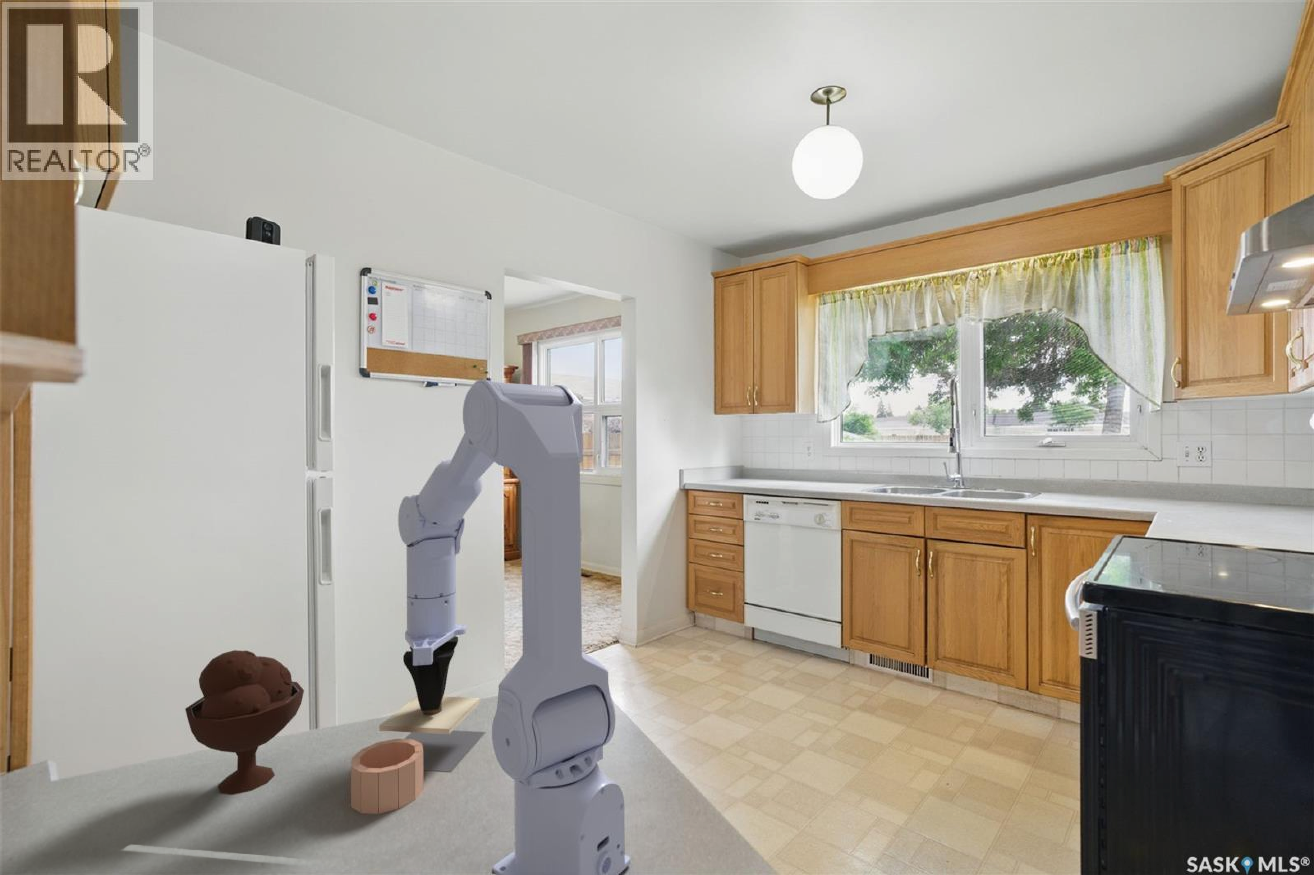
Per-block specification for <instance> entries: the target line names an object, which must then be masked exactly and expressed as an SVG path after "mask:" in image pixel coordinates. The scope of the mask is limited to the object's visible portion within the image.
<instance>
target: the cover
mask: <svg viewBox="0 0 1314 875" xmlns="http://www.w3.org/2000/svg"><path fill="white" fill-rule="evenodd" d="M456 703H458V704H456ZM480 704H481V698H480V697H464V696H463V697H460V696H443V698H442V701H441V704H440V708H439V709H438V710H428V711H421V708H420V705H419V701H418V697H417V695H416V696H415V697H413V698H412V699H411V700H410V701H408V703H407V702H406V704H405V705H403V706H402V707H401V708H400V709H398V710H397V711H396V712H394V713H393V714H392V715H391V716H389V717H388V718H387V719H386V720H384V721H383V722H382V723H381V724H379V727H378V728H379V730H378V731H379V732H380V731H381V732H396V733H397V732H399V733H400V732H401V733H411V732H415V733H436V734H450V733H451V732H452V731H455V729H456V728H457V727H458V726H460V724H461V723H462V722H463V721H464V719H466V718H467V717H468V716H469V715H470V714H471V713H472V712H473V711H474V710H475V709H476V708H477V706H479V705H480Z"/></svg>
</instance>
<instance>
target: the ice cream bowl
mask: <svg viewBox="0 0 1314 875" xmlns="http://www.w3.org/2000/svg"><path fill="white" fill-rule="evenodd" d="M198 684H199V689H200V692H201V693H202V695H203V696H202V697H201V698H199V699H198V700H196V701H195V702H193V703H192V704H190V705H189V706H187V707H185V714H186V718H187V722H188V724H189V729H190V731H191V733H192V735H193V737H194V738H195V740H196V741H197V742H198V743H199V744H201V745H203V746H205V747H207V748H209V749H210V750H216V751H217V752H225V753H226V752H227V753H235V754H236V756H237V763H236V764H237V767H236V770H235V771H233V772H232V773H230V774H229V775H228V776H226V777H225V778H224V779H223V780H222V781H221V782H219V783H218V785H217V789H218V792H219V793H220V794H224V795H225V794H226V795H237V794H242V793H247V792H251V791H254V790H256V789H258V788H260V787H262V786H265V785H267V784H268V783H269V782H270V781H271V780H272V779H273V778H274V777H275V776H276V775H275V772H274V770H273V768H272V767H268V766H263V765H257V755H256V753H257V750H258V748H259V747H260V746H262V745H265V744H267V743H268V742H270V741H271V740H272V739H274V738H275V736H277V735H278V734H279V733H280V732H281V731H282V730H284V728H286V726H288V724H289V723H290V722H291V721H292V719H294V718H295V716H296V715H297V714H298V711H299V709H300V707H301V705H302V701H303V698H304V697H303V696H304V692H305V690H304V689H303V687H302V686H301V685H300V683H299V682H298V681H293V680H292V673H291V672H290V670H289V669H288V667H286V666H285V665H284V664H283V663H281V662H280V661H278V660H277V659H276V658H273V657H268V656H261V655H259V656H258V655H256V654H255V653H254V652H252V651H249V650H236V649H235V650H231V651H226V652H223V653H221V654H219V655H217V656H216V657H214V658H212V659H211V660H210V661H209V662H208V664H207V665H206V666H204V668H203V669H202V671H201V672H200V675H199V678H198Z"/></svg>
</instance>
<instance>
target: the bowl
mask: <svg viewBox="0 0 1314 875" xmlns="http://www.w3.org/2000/svg"><path fill="white" fill-rule="evenodd" d="M350 761H351V762H350V807H351V808H352V809H353V810H354V811H356V812H358V813H360V814H371V815H372V814H373V815H378V814H384V813H388V812H392V811H396V810H399V809H401V808H403V807H405V806H407V805H409V804H411V803H412V802H414V801H416V800H417V799H418V797H419V796H420V795H421V794H422V793H423V791H424V771H423V746H422V743H419V742H417V741H415V740H413V739H405V738H393V739H387V740H383V741H377V742H376V743H373V744H371V745H369V746H366V747H364V748H362V749H360V750H358V751H357V753H355V754H354V755H353V756H352V757H351V760H350Z"/></svg>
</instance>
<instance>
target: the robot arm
mask: <svg viewBox="0 0 1314 875" xmlns="http://www.w3.org/2000/svg"><path fill="white" fill-rule="evenodd" d="M463 401H464V402H463V406H462V424H463V428H464V434H463V436H462V438H461V440H460V441H459V444H458V446H457V448H456V450H455V452H454V455H453V456H452V459H448V460H442V461H441V462H440V463H439V464H438V465H436V467H435V468H434V470H433V471H432V473H431V474H430V476H429V477H428V480H427V481H426V482H425V484H424V486H423V487H422V489H421V490H420V491H419V493H418V494H412V495H406V496H404V497H403V498H402V500H401V503H400V505H399V508H398V514H397V517H398V518H397V522H398V531H399V535H400V538H401V540H402V542H403V543H404V544H405V546H406V630H405V633H404V638H405V641H406V642H407V643H408V645H409V649H410V650H406V651H405V652H404V654H403V657H402V658H403V663H404V666H405V667H406V669H407V670H408V673H410V676H411V678H412V680H413V684H414V688H415V692H416V696H417V697H418V701H419V705H420V708H421V711H428V710H438V709H439V708H440V704H441V701H442V698H443V697H444V694H445V691H446V686H447V680H448V675H449V668H450V663H451V661H452V658H453V657H454V654H455V649H456V647H457V645H458V642H459V637H458V636H459V635H460V636H462V635H465V634H466V633H467V632H466V631H467V625H466V624H457V556H456V555H458V554H459V553H460V550H461V540H462V536H463V534H464V529H465V517H464V516H465V514H467V511H468V510H469V509H470V508H471V506H472V505H473V504H474V503H475V501H476V500H477V498H479V496H480V494H481V492H482V490H483V489H482V488H483V482H482V478H481V477H482V476H483V474H485V473H486V471H487V470H488V469H489V468H490V467H491V466H492V465H493V464H494V463H495V464H497V465H498V466H501V467H504V468H506V469H510V471H512V473H513V474H514V475H515V477H516V478H517V479H518V480H519V482H520V487H521V488H520V490H521V491H520V493H521V494H520V498H521V499H520V500H521V504H520V505H521V506H520V508H521V512H520V513H521V600H522V604H521V605H522V606H521V608H522V609H521V611H522V614H521V616H522V618H521V619H522V624H521V625H522V655H521V657H520V658H519V659H518V661H517V662H516V663H515V664H514V666H512V667H511V669H510V670H509V671H508V672H507V673H506V675H505V676H504V677H503V679H502V680H501V681H500V682H499V684H498V693H497V704H496V705H497V706H496V710H495V714H494V716H493V720H492V724H491V740H492V746H493V751H494V755H495V757H496V760H497V762H498V764H499V766H500V767H501V769H502V771H503V772H504V773H505V774H506V775H507V776H509V778H511V779H512V780H514V782H513V783H514V792H513V793H514V794H513V795H514V850H513V851H512V852H511V853H509V854H508V855H507V856H505V857H504V858H503V859H501V860H499V861H498V862H497V863H496V864H494V865H493V866H492V870H493V871H492V872H494V874H495V875H619V874H621V873H622V872H623V871H625V869H626V868H627V867H628V866H629V865H630V864H631V857H630V855H627V854H625V853H626V852H625V845H626V844H625V843H626V842H625V840H626V839H625V838H626V837H625V829H626V828H625V797H624V794H623V790H622V789H621V787H620V786H619V785H618V784H617V783H616V782H614V781H613V780H612V779H610V778H609V777H608V776H606V775H605V774H604V772H603V771H602V770H601V768H600V767H599V764H598V762H599V761H601V760H603V759H604V747H605V746H606V745H607V744H609V742H611V740H612V738H613V737H614V734H615V733H614V732H615V730H616V709H615V704H614V701H613V698H612V695H611V692H610V691H611V690H610V685H609V671H608V670H607V669H606V668H605V666H604V665H602V663H600V662H599V661H598V660H597V659H595V658H594V657H592V656H590V655H589V654H587V653H586V652H584V651H583V640H582V639H583V633H582V632H583V630H582V629H583V627H582V626H583V625H582V624H583V623H582V617H583V616H582V548H581V547H582V543H581V542H582V538H581V535H582V532H581V468H580V467H581V466H580V465H581V463H583V461H584V458H583V456H584V455H583V454H584V453H583V452H584V447H583V446H584V444H583V441H584V440H583V439H584V438H583V404H582V402H581V401H580V400H579V399H578V397H576V395H575V394H574V393H573V392H572V390H570V389H569V388H568V387H567V386H566V385H565V386H564V385H562V384H561V385H560V384H559V385H558V384H555V385H552V386H551V385H541V384H540V385H539V384H527V383H513V382H498V381H496V382H495V381H491V380H487V379H479V380H477V381H475V382H474V383H473V384H472V385H471V386H470V388H469V389H468V391H467V392H466V394H465V398H464V400H463Z"/></svg>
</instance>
